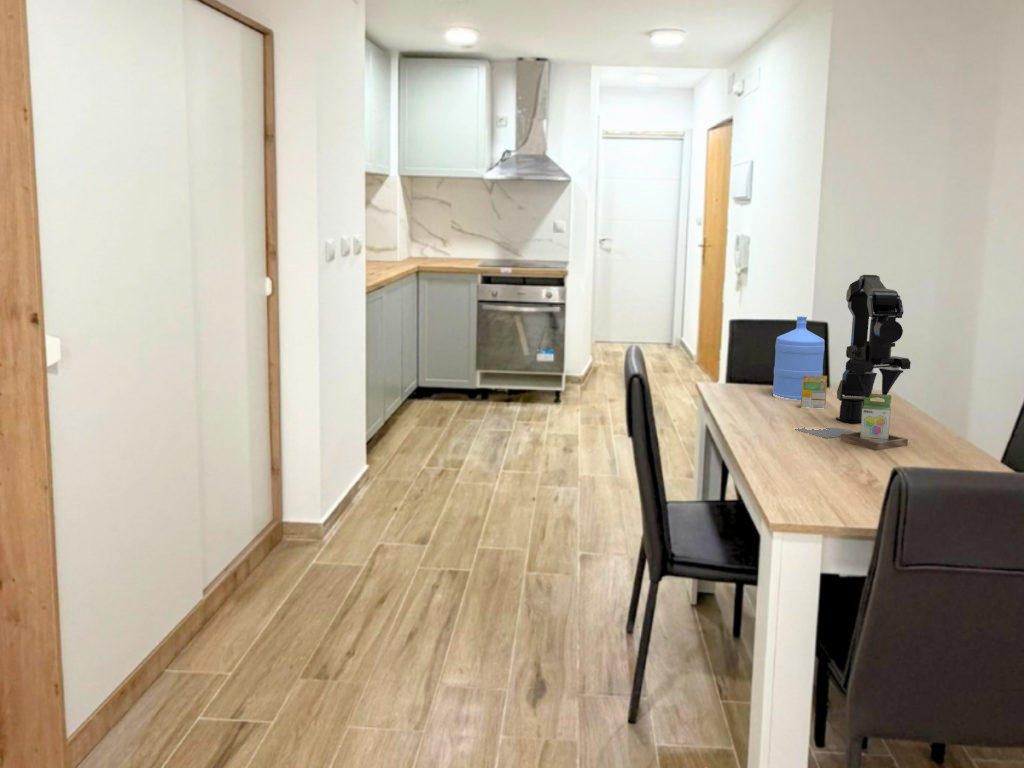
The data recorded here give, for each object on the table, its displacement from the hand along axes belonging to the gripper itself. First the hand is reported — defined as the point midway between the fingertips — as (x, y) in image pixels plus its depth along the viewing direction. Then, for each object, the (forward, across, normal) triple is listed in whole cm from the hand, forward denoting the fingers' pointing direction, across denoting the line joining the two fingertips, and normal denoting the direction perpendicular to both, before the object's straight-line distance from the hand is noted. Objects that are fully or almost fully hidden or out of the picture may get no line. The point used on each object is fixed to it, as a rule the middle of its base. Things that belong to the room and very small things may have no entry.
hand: (875, 396), depth 254 cm
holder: (+13, 0, +1) cm, 13 cm away
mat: (+13, +1, -15) cm, 20 cm away
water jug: (+13, -29, -56) cm, 65 cm away
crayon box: (+13, -20, -40) cm, 47 cm away
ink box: (+13, 0, +1) cm, 13 cm away
